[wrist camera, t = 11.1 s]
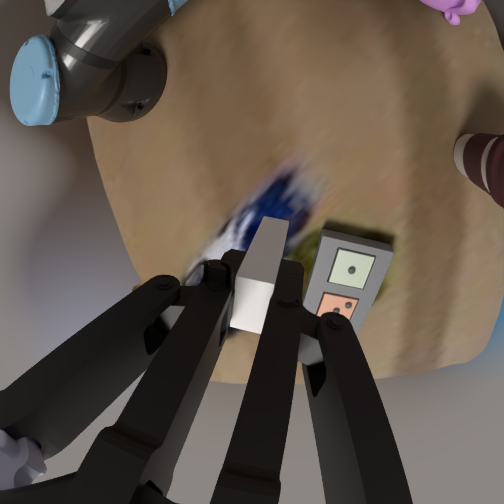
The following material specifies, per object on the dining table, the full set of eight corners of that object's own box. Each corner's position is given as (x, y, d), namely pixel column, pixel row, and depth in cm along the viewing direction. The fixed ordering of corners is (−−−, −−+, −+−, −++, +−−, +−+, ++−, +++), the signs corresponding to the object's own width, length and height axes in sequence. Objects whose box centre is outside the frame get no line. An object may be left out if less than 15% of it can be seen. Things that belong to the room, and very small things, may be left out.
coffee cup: (480, 192, 33) (531, 226, 20) (439, 171, 34) (488, 200, 21) (494, 140, 29) (550, 158, 16) (453, 115, 29) (508, 121, 16)
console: (289, 341, 56) (287, 351, 53) (322, 228, 43) (322, 236, 41) (342, 350, 54) (343, 361, 52) (389, 244, 42) (394, 252, 39)
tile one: (328, 272, 46) (328, 282, 43) (337, 241, 43) (339, 250, 40) (360, 278, 46) (362, 289, 43) (371, 249, 43) (375, 258, 40)
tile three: (315, 309, 50) (315, 320, 47) (324, 283, 47) (324, 294, 45) (345, 315, 50) (346, 326, 47) (355, 290, 47) (357, 301, 44)
